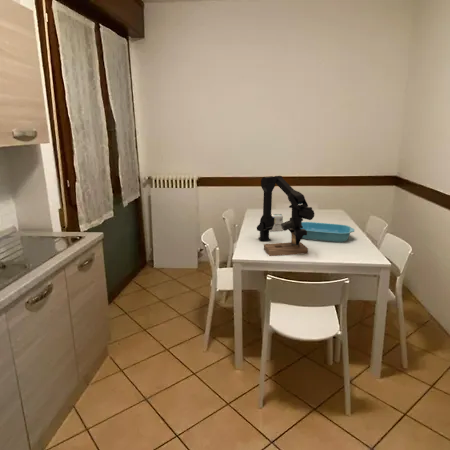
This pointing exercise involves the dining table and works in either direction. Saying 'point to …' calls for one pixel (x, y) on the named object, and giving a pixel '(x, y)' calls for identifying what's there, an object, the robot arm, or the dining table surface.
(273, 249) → the walnut board
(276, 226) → the light bulb box
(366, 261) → the dining table surface
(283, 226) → the robot arm
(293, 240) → the oak peg
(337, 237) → the casserole dish
